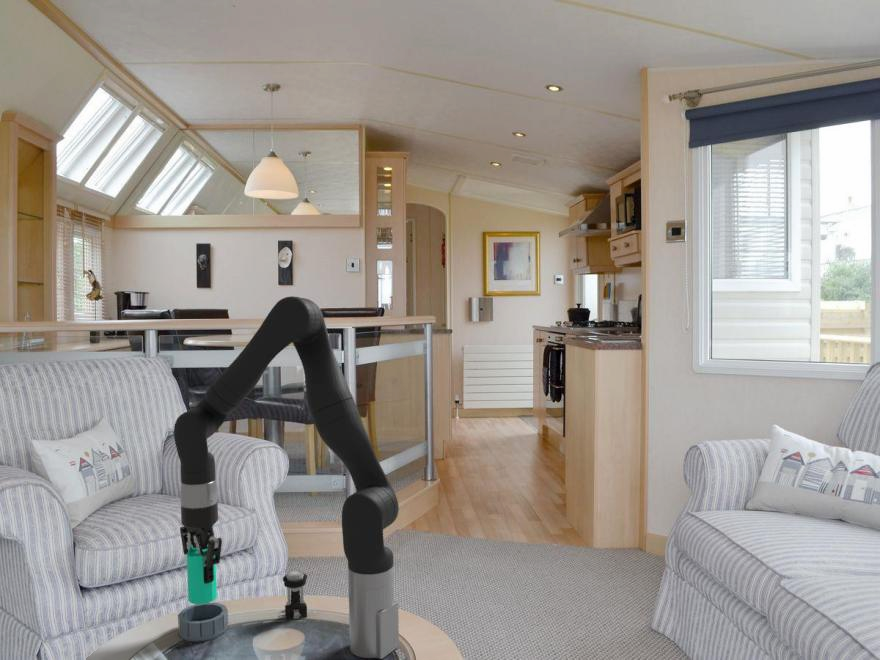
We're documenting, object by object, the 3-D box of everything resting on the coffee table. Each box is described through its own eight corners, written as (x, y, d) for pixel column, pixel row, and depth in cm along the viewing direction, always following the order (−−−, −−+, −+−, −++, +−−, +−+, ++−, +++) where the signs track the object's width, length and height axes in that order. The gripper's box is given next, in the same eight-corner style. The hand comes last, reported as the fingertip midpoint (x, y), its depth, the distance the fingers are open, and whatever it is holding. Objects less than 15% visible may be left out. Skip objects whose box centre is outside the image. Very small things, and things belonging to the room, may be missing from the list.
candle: (204, 590, 167) (202, 537, 166) (223, 595, 164) (221, 542, 163) (182, 600, 162) (180, 545, 161) (201, 606, 159) (199, 551, 158)
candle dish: (237, 626, 165) (236, 609, 164) (200, 646, 156) (199, 627, 156) (206, 616, 170) (205, 598, 170) (169, 634, 162) (168, 616, 161)
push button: (278, 624, 166) (277, 579, 165) (277, 613, 171) (275, 570, 170) (309, 619, 168) (308, 576, 167) (306, 609, 173) (305, 567, 172)
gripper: (232, 504, 159) (235, 582, 160) (198, 491, 169) (201, 565, 170) (199, 512, 153) (202, 593, 155) (166, 498, 163) (169, 575, 165)
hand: (201, 578), depth 162 cm, fingers closed on candle, 4 cm apart
